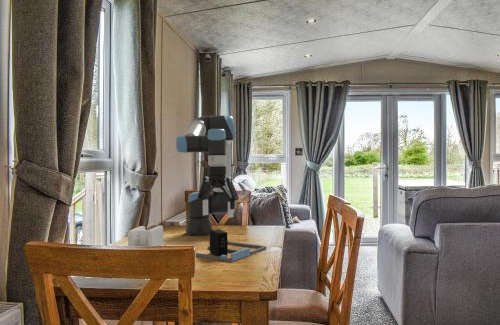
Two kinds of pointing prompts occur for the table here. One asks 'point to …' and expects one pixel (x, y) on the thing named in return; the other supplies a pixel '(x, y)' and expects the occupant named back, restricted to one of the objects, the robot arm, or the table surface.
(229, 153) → the robot arm
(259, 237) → the table surface
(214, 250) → the electronic device
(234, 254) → the grey flat frame
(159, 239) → the cable organizer
